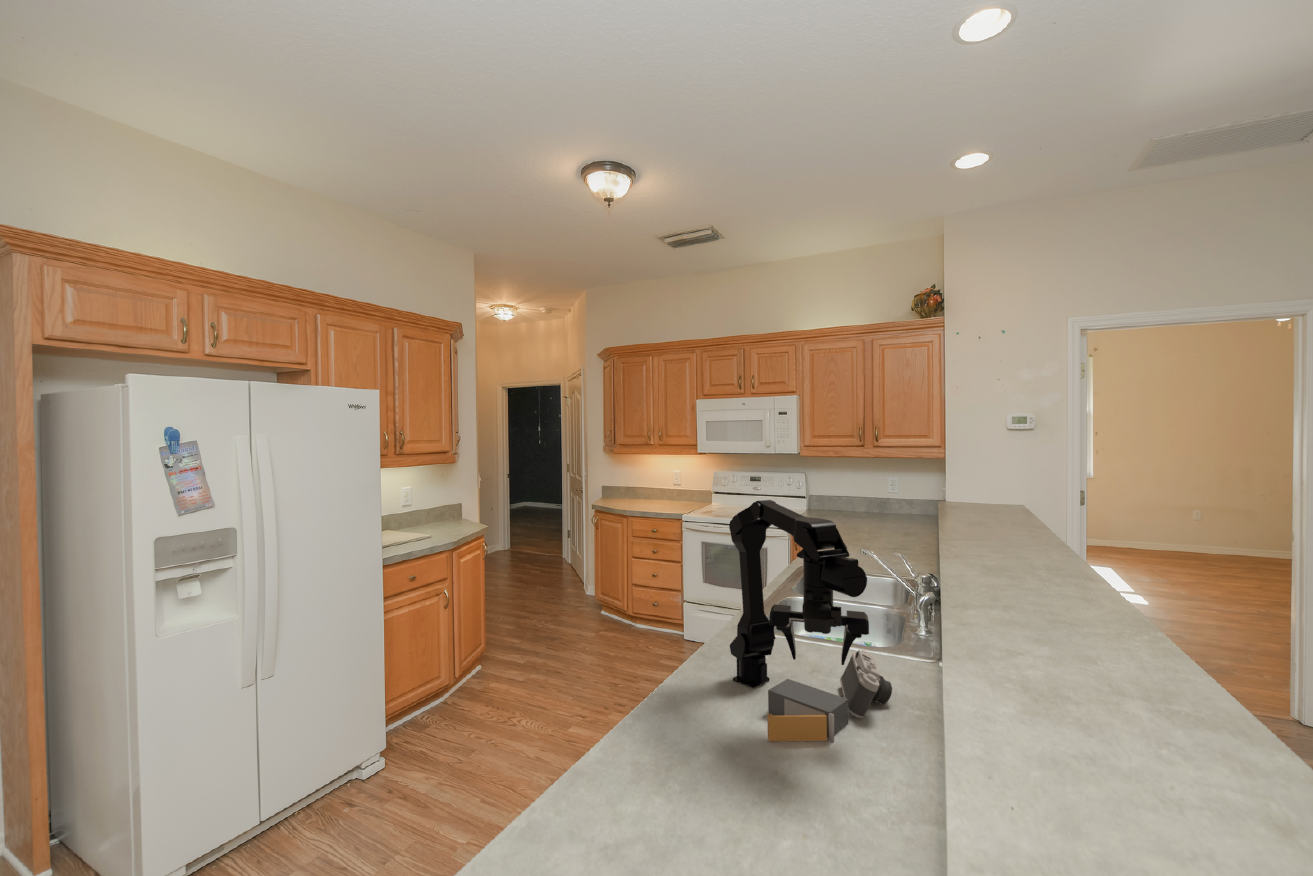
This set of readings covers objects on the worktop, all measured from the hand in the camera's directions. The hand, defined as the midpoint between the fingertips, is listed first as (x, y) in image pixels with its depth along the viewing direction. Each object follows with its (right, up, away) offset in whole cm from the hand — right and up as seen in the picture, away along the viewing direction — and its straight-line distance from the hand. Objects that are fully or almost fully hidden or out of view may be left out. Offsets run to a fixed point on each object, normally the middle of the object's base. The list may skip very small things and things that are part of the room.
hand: (818, 661), depth 112 cm
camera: (+14, -13, +10) cm, 22 cm away
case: (-1, -13, +4) cm, 14 cm away
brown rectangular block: (-5, -13, -5) cm, 15 cm away
